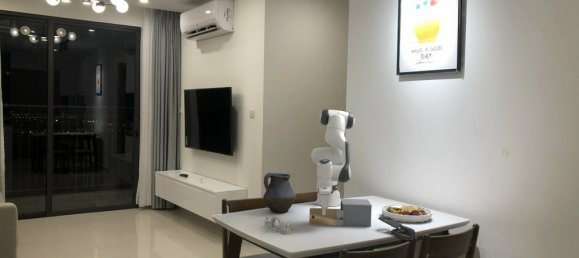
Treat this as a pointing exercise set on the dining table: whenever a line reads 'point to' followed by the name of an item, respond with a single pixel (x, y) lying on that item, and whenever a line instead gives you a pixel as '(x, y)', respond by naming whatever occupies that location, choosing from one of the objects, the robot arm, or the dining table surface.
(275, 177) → the pitcher
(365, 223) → the cabinet
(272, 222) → the gateway
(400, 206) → the bowl
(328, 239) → the dining table surface
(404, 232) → the dark grey clamp
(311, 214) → the cabinet door
